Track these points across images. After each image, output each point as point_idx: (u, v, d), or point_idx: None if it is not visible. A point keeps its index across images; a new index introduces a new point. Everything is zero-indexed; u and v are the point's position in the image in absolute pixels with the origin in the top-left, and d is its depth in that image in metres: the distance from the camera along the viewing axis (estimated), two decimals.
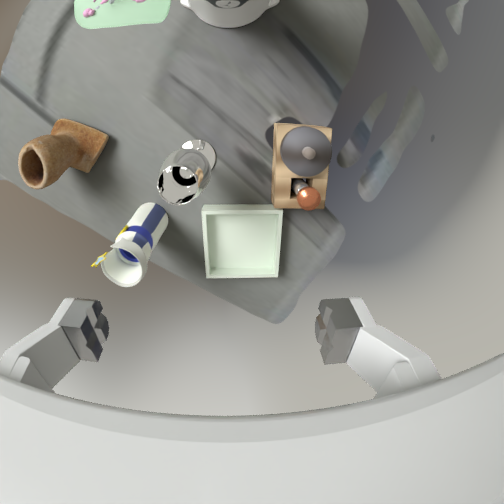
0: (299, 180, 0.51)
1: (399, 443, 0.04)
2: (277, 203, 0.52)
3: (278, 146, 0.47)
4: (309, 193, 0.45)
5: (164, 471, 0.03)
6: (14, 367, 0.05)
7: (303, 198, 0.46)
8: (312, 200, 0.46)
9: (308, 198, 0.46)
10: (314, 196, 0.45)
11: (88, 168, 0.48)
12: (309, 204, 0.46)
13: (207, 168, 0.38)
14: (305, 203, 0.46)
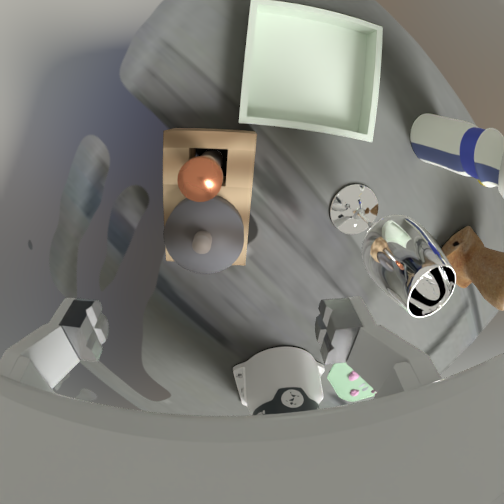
0: None
1: (399, 443, 0.04)
2: (251, 141, 0.28)
3: (246, 235, 0.33)
4: (200, 192, 0.24)
5: (164, 470, 0.03)
6: (14, 367, 0.05)
7: (211, 182, 0.24)
8: (193, 178, 0.23)
9: (201, 182, 0.24)
10: (190, 186, 0.24)
11: (468, 233, 0.37)
12: (199, 170, 0.23)
13: (374, 270, 0.24)
14: (207, 172, 0.23)
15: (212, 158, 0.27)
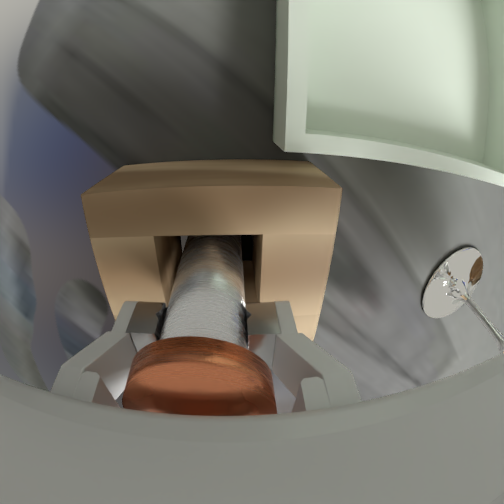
0: None
1: (399, 443, 0.04)
2: (326, 209, 0.10)
3: None
4: None
5: (164, 470, 0.03)
6: (79, 385, 0.05)
7: None
8: None
9: None
10: None
11: None
12: (190, 403, 0.06)
13: None
14: (222, 408, 0.06)
15: (223, 276, 0.10)
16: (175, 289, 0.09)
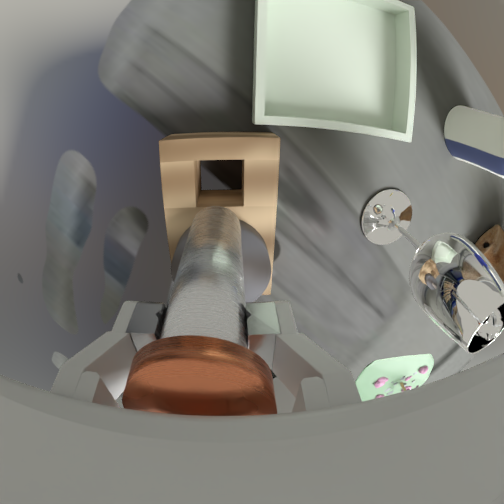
0: None
1: (399, 443, 0.04)
2: (273, 148, 0.22)
3: (271, 261, 0.27)
4: None
5: (164, 470, 0.03)
6: (79, 385, 0.05)
7: None
8: None
9: None
10: None
11: (497, 232, 0.31)
12: (190, 402, 0.06)
13: (428, 303, 0.19)
14: (222, 407, 0.06)
15: (223, 276, 0.10)
16: (175, 289, 0.09)
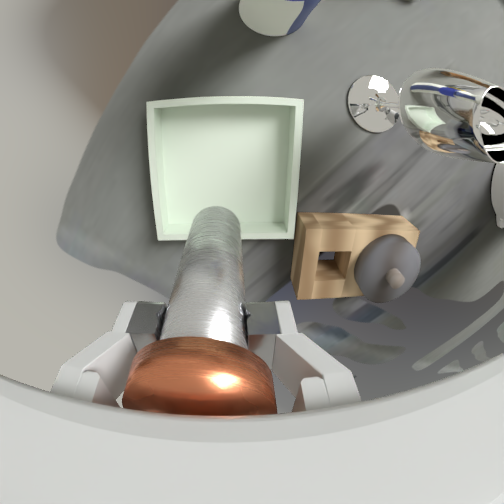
0: None
1: (399, 443, 0.04)
2: (313, 233, 0.31)
3: (395, 231, 0.31)
4: None
5: (164, 471, 0.03)
6: (79, 385, 0.05)
7: None
8: None
9: None
10: None
11: None
12: (190, 403, 0.06)
13: None
14: (222, 408, 0.06)
15: (223, 277, 0.10)
16: (175, 289, 0.09)
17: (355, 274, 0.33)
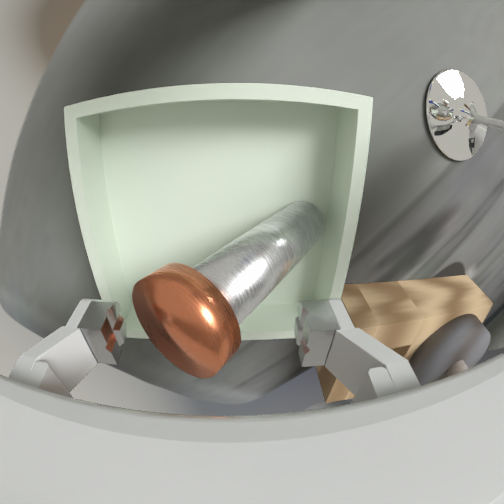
0: None
1: (399, 443, 0.04)
2: None
3: (468, 310, 0.18)
4: (178, 354, 0.09)
5: (164, 470, 0.03)
6: (31, 372, 0.05)
7: (195, 350, 0.08)
8: (159, 322, 0.09)
9: (176, 339, 0.09)
10: (157, 333, 0.09)
11: None
12: (164, 311, 0.08)
13: None
14: (181, 325, 0.08)
15: (261, 248, 0.11)
16: (223, 247, 0.12)
17: None
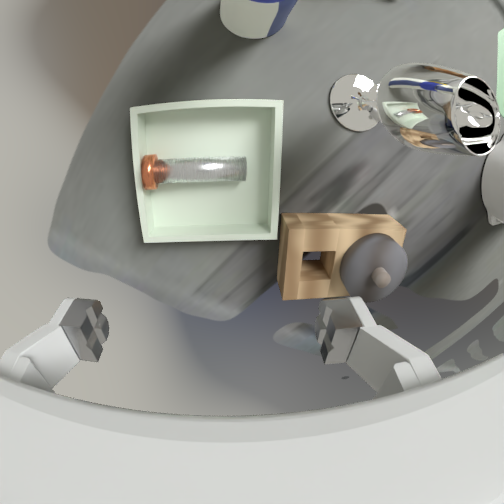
0: (209, 181, 0.30)
1: (399, 443, 0.04)
2: (296, 233, 0.31)
3: (380, 230, 0.32)
4: None
5: (164, 471, 0.03)
6: (14, 367, 0.05)
7: None
8: None
9: None
10: None
11: None
12: None
13: None
14: None
15: (185, 159, 0.28)
16: None
17: (340, 274, 0.34)
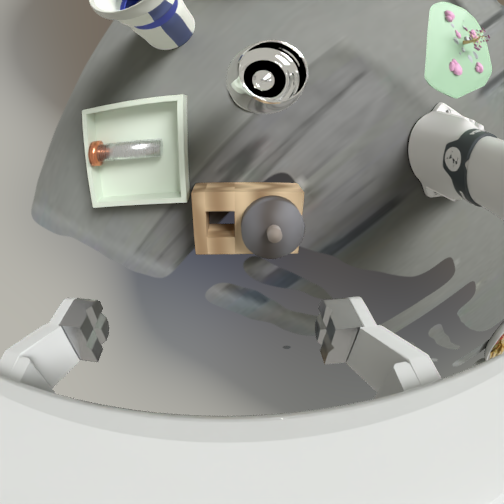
0: (134, 158, 0.37)
1: (399, 443, 0.04)
2: (197, 196, 0.38)
3: (275, 193, 0.39)
4: None
5: (164, 471, 0.03)
6: (14, 367, 0.05)
7: None
8: None
9: None
10: None
11: None
12: None
13: (276, 111, 0.24)
14: None
15: (119, 142, 0.35)
16: None
17: None
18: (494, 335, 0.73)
